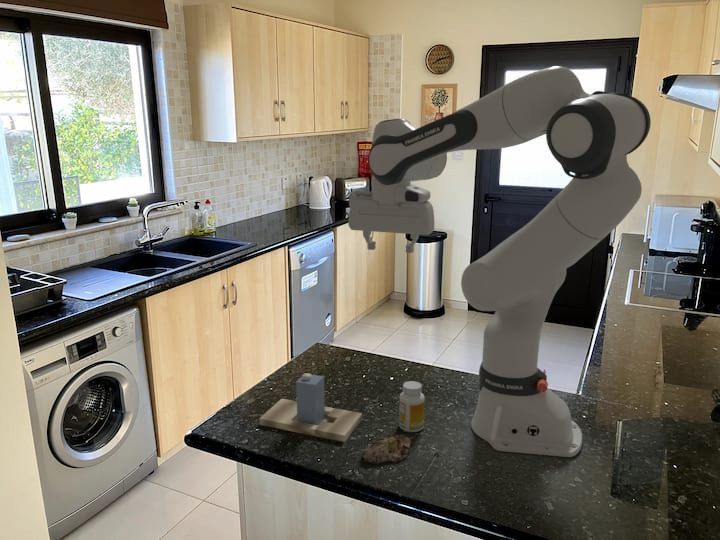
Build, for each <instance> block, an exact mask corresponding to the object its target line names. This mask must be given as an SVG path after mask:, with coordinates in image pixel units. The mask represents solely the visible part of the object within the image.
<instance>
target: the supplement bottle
mask: <svg viewBox="0 0 720 540" xmlns="http://www.w3.org/2000/svg"><path fill="white" fill-rule="evenodd" d="M422 387H423V386H422V384H421V382H418V381H414V380H413V381H412V380H411V381H410V380H408V381H405V382H403V385H402V392H401V393H400V394H399V399H398V400H399V403H398V404H399V407H398V409H399V411H398V412H399V413H398V426H399V428H400V429H401V430H403V431H404V432H408V433H417V432H420V431H421V430H423V429H424V428H425V408H426V407H425V404H426V403H425V401H426V400H425V399H426V397H425V395H424V393H422V390H423V388H422Z"/></svg>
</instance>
